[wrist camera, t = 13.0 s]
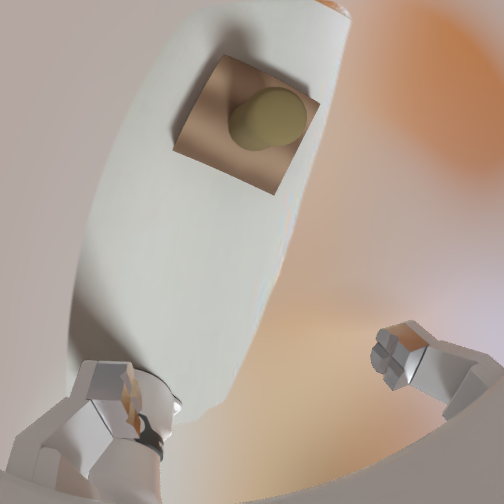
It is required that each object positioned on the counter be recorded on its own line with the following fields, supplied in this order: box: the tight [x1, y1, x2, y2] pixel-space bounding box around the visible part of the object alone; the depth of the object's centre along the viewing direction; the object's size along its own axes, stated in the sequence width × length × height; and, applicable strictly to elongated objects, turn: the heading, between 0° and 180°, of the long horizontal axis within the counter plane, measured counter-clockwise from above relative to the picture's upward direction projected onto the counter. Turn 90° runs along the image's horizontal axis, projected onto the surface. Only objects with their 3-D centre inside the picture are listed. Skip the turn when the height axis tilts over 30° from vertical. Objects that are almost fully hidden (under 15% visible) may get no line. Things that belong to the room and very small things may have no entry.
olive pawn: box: [228, 87, 307, 151], centre depth 24 cm, size 6×6×11 cm
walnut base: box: [173, 54, 320, 195], centre depth 30 cm, size 13×13×3 cm
